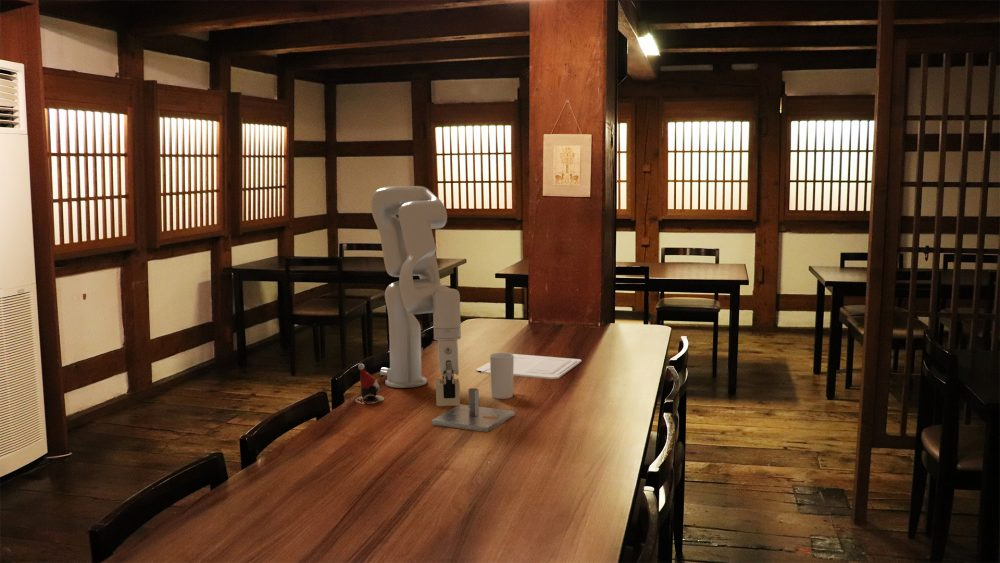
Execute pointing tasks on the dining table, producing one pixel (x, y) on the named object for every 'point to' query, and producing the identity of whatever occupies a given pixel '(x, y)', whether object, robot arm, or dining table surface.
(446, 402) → the hollow square tube
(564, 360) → the tray
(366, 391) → the figurine
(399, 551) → the dining table surface
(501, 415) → the square peg base
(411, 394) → the dining table surface
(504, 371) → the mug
